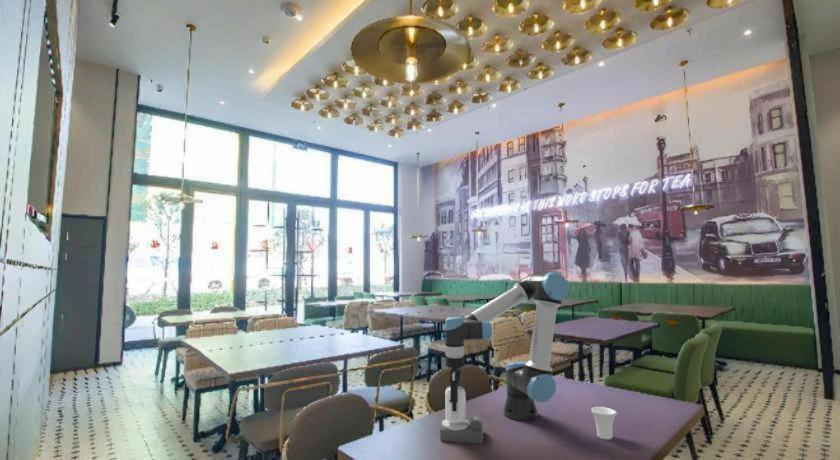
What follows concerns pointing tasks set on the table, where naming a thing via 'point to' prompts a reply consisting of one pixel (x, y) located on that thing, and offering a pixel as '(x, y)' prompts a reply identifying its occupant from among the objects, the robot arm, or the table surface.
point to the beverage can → (460, 405)
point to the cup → (604, 421)
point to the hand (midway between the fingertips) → (455, 415)
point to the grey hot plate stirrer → (463, 430)
